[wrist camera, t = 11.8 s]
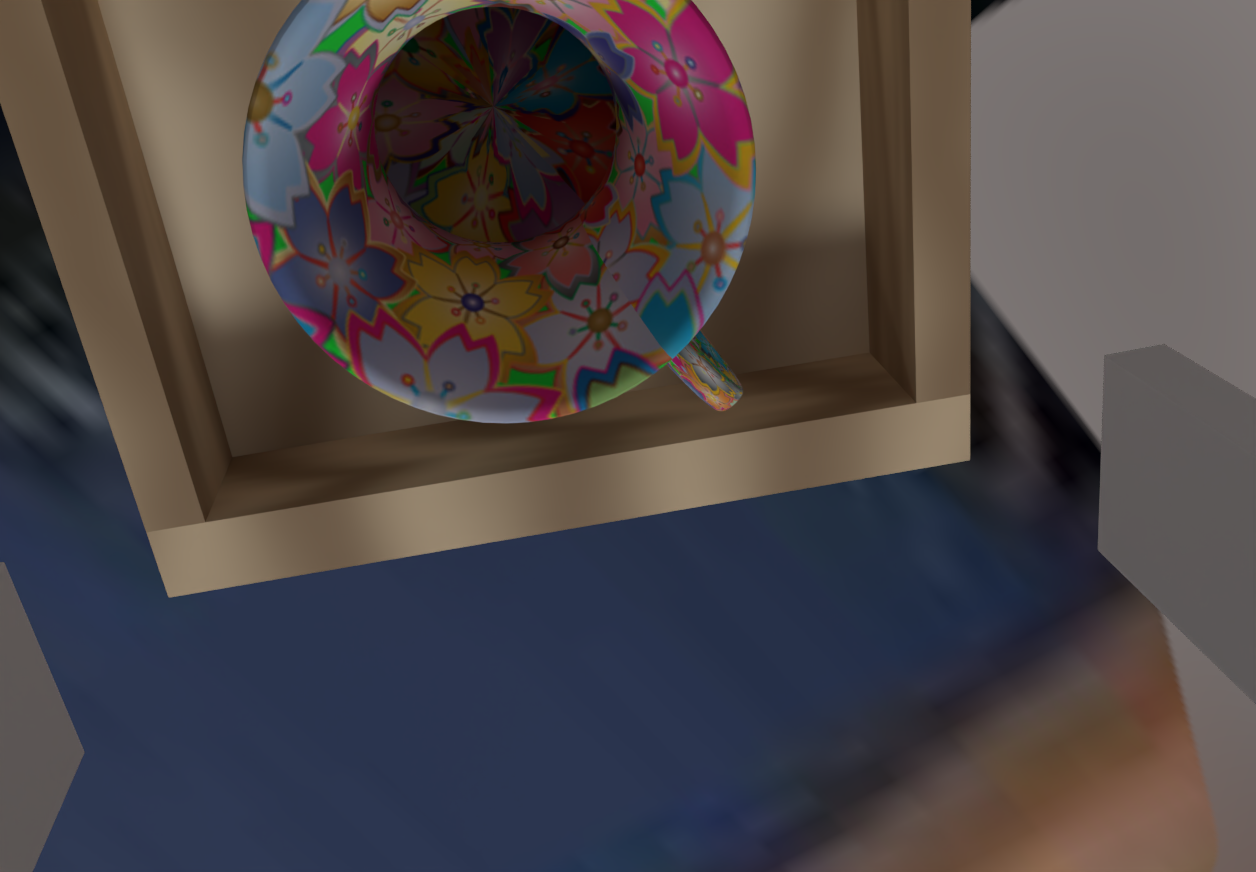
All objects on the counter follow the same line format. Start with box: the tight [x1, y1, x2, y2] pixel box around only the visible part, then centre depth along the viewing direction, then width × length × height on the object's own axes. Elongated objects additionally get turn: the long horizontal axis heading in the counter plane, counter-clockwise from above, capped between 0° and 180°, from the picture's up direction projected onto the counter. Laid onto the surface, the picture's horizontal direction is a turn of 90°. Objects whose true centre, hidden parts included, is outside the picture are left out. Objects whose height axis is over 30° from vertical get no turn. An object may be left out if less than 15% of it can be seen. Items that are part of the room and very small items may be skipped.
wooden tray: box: [0, 0, 971, 597], centre depth 30 cm, size 22×19×5 cm
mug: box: [242, 0, 756, 423], centre depth 27 cm, size 12×9×11 cm
